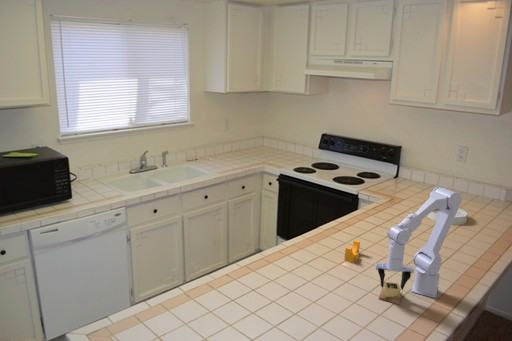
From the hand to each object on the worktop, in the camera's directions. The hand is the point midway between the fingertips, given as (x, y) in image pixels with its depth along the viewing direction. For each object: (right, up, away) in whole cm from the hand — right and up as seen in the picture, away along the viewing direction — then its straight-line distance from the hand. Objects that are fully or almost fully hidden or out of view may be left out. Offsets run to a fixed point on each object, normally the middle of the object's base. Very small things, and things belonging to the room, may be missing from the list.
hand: (391, 287), depth 174 cm
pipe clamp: (-7, +5, +35) cm, 37 cm away
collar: (0, -3, +1) cm, 3 cm away
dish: (+63, +17, +92) cm, 113 cm away
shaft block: (0, -4, +1) cm, 4 cm away
